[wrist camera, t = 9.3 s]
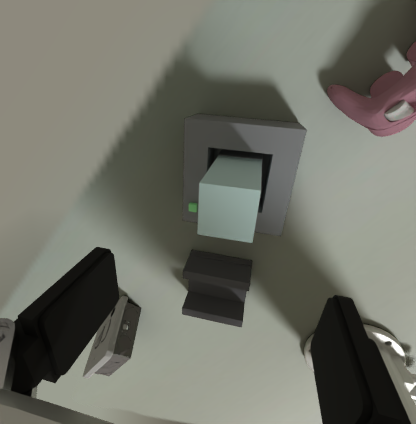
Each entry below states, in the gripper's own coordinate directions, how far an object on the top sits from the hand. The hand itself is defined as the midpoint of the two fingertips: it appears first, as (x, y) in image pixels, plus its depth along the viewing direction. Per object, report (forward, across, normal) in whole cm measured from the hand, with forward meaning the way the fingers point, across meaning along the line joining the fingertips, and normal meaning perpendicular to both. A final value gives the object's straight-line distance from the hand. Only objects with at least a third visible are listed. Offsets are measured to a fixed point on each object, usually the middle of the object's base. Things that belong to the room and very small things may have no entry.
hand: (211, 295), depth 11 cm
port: (+18, +1, -1) cm, 18 cm away
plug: (+17, +1, -1) cm, 17 cm away
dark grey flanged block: (+18, +2, +15) cm, 24 cm away
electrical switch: (+19, +17, +27) cm, 37 cm away
